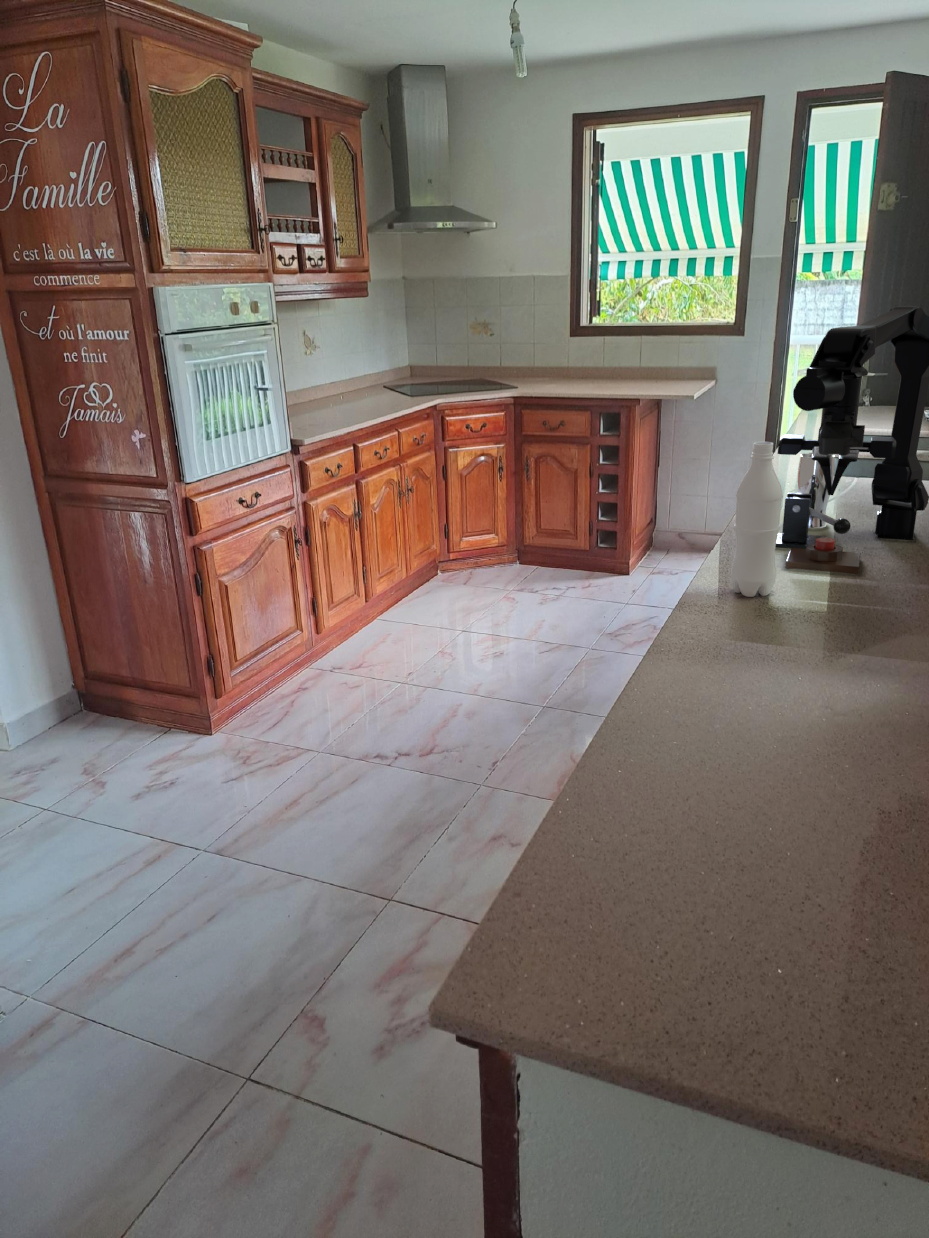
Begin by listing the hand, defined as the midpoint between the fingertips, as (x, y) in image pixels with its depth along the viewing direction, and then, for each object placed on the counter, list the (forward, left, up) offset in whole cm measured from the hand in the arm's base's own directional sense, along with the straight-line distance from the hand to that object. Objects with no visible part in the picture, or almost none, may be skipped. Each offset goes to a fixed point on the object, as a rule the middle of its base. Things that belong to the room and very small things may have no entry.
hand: (830, 494), depth 156 cm
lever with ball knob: (+3, -11, -8) cm, 14 cm away
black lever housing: (+6, -11, -13) cm, 18 cm away
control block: (0, +1, -13) cm, 13 cm away
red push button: (0, +1, -10) cm, 10 cm away
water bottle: (+10, +19, -13) cm, 26 cm away
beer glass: (+4, -26, -13) cm, 30 cm away
